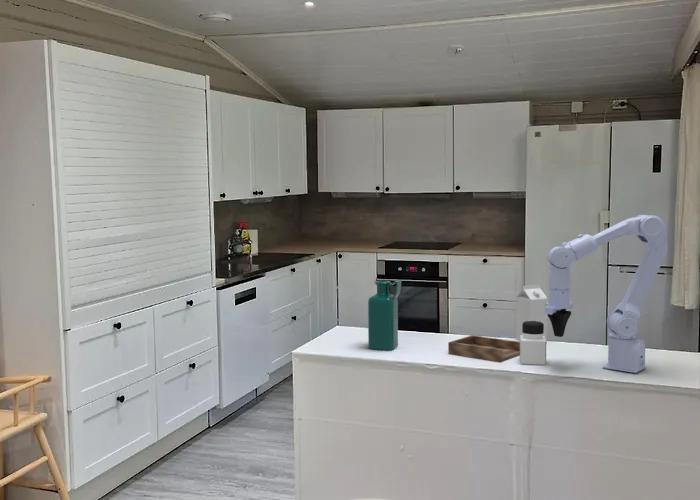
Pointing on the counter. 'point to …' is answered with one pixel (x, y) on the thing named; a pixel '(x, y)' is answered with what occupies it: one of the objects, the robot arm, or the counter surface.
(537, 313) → the milk carton
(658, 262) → the robot arm
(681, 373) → the counter surface
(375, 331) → the pitcher
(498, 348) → the wooden tray
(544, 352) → the medicine bottle
